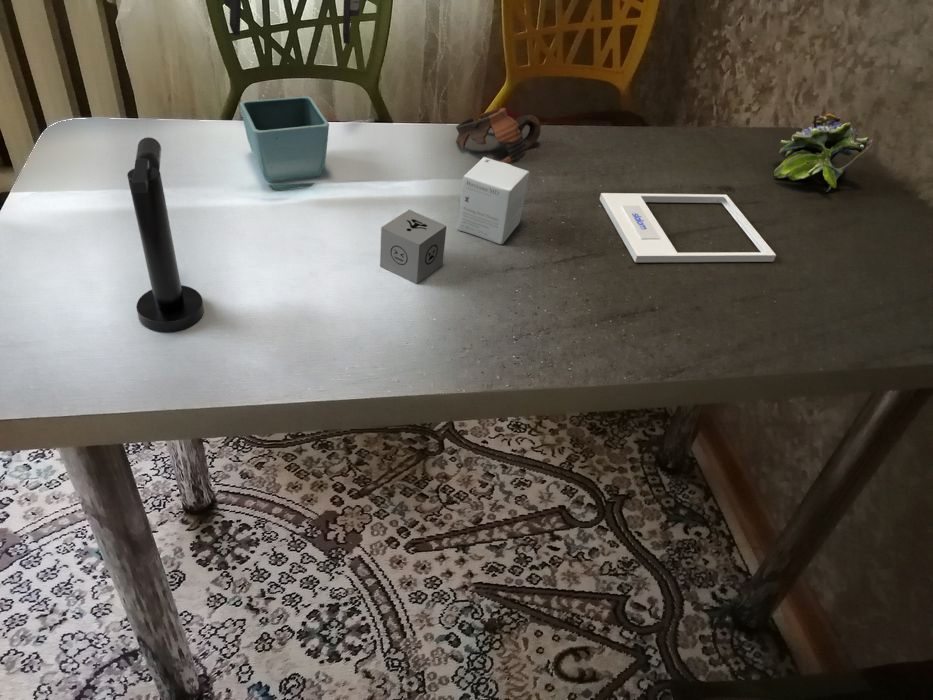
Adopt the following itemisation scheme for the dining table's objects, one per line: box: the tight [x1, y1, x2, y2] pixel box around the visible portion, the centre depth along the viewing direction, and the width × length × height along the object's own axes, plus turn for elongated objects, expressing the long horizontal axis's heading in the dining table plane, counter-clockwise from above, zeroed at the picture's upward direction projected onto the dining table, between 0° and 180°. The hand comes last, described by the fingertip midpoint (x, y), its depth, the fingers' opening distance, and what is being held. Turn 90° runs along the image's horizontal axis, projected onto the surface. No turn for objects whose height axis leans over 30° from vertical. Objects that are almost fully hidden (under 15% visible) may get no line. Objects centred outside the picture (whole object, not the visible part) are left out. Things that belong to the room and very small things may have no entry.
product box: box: [457, 156, 530, 245], centre depth 88 cm, size 6×6×7 cm
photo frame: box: [599, 192, 777, 263], centre depth 94 cm, size 15×1×18 cm
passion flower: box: [773, 113, 874, 193], centre depth 107 cm, size 11×11×12 cm
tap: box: [126, 136, 205, 333], centre depth 69 cm, size 11×6×16 cm, turn 14°
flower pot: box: [239, 96, 330, 192], centre depth 91 cm, size 9×9×9 cm
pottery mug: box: [455, 107, 542, 165], centre depth 103 cm, size 12×10×8 cm
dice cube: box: [379, 209, 447, 285], centre depth 81 cm, size 5×5×5 cm
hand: (291, 34), depth 93 cm, fingers open, 13 cm apart
